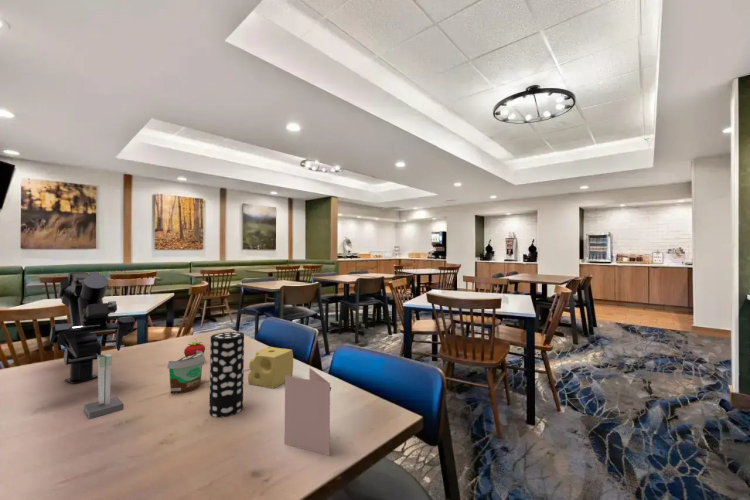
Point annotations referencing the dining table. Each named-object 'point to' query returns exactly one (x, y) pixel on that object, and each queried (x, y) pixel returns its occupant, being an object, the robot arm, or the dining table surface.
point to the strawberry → (194, 348)
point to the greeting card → (307, 413)
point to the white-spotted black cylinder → (226, 374)
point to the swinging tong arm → (100, 378)
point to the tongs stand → (109, 403)
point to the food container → (186, 373)
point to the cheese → (270, 367)
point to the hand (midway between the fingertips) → (98, 353)
